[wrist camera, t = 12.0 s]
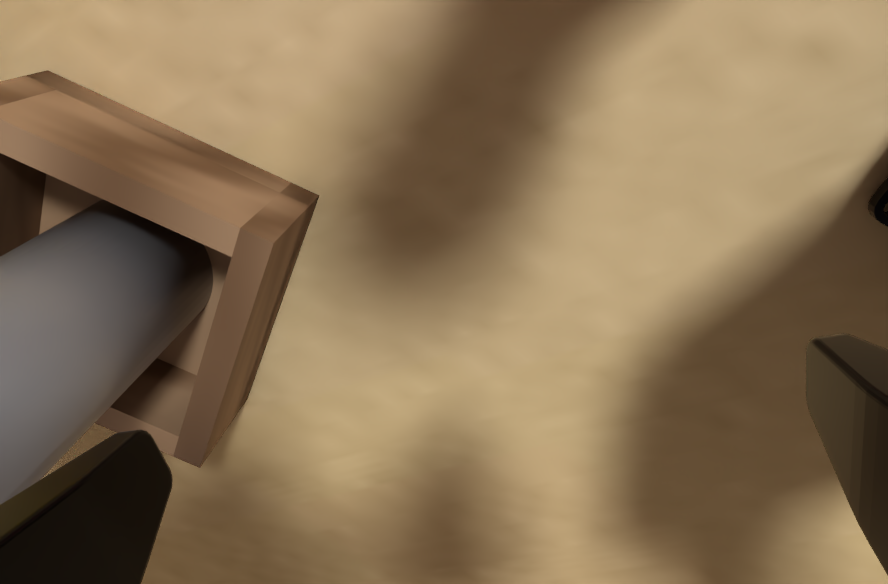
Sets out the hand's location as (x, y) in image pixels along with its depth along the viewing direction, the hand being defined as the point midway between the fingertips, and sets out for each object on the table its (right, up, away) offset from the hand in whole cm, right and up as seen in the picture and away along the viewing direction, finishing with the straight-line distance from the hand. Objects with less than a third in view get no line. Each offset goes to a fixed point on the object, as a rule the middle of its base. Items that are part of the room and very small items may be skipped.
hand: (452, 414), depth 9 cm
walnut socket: (-10, +3, +15) cm, 18 cm away
